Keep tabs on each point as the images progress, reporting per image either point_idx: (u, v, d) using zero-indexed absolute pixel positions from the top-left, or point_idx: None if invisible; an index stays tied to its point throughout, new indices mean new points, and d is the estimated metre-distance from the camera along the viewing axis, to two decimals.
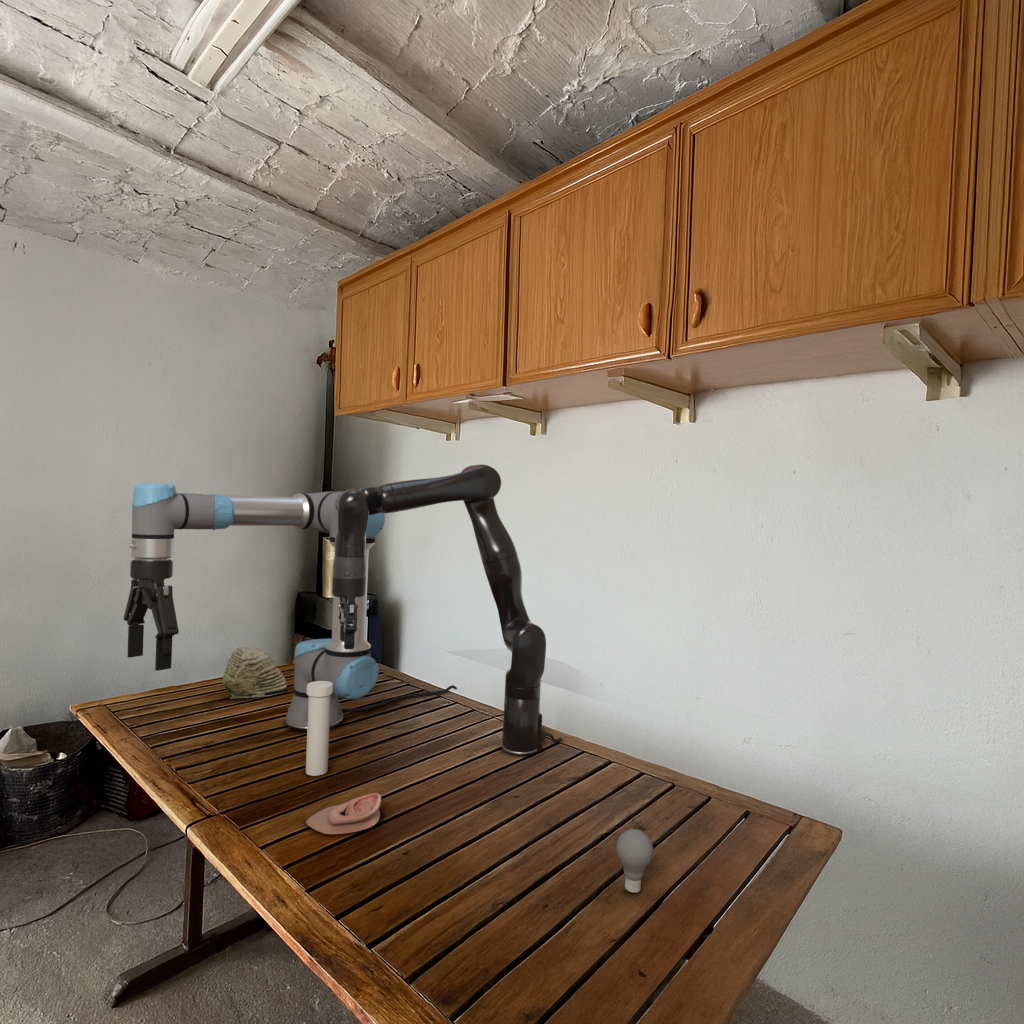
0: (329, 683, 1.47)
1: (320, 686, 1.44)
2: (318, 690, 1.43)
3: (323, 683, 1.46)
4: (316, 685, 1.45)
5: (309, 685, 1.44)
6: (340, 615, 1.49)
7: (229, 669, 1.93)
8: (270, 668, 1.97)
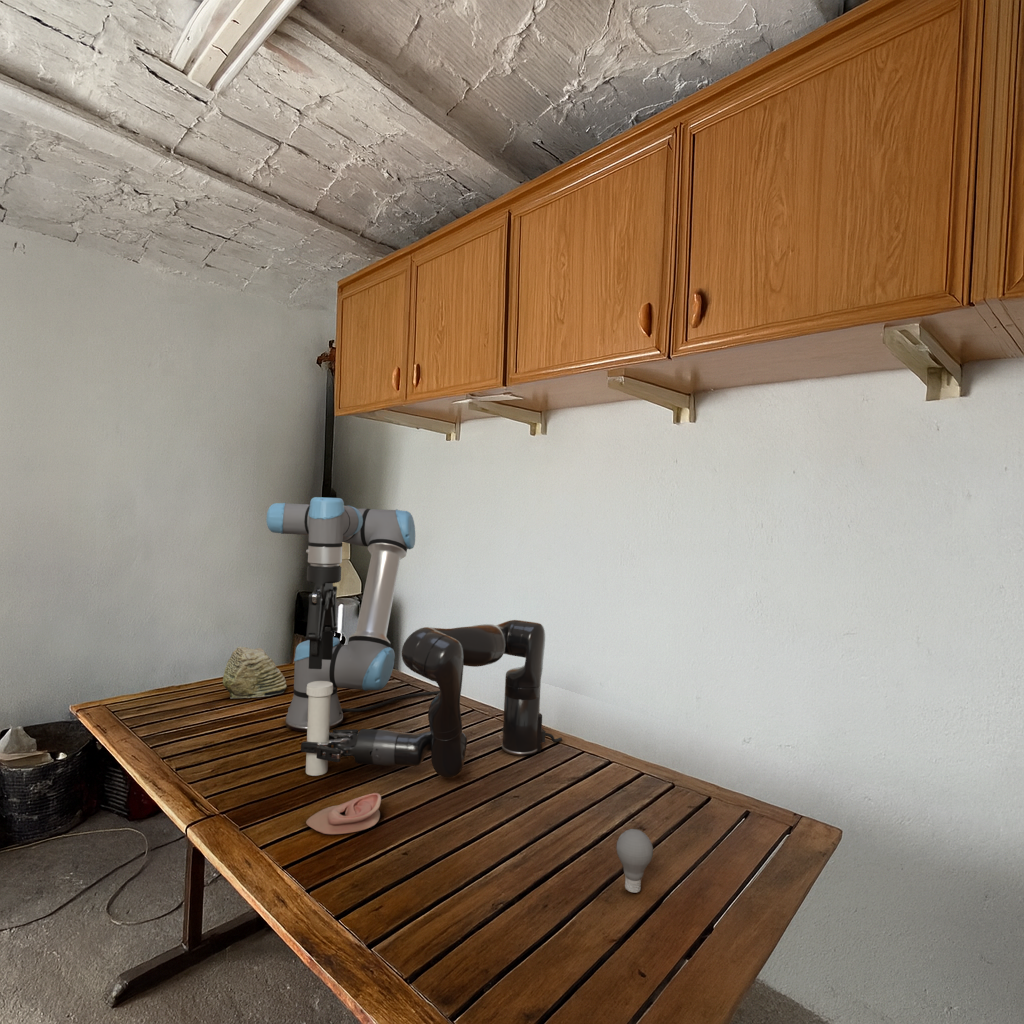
0: (329, 683, 1.47)
1: (320, 686, 1.44)
2: (318, 690, 1.43)
3: (323, 683, 1.46)
4: (316, 685, 1.45)
5: (309, 685, 1.44)
6: None
7: (229, 669, 1.93)
8: (270, 668, 1.97)
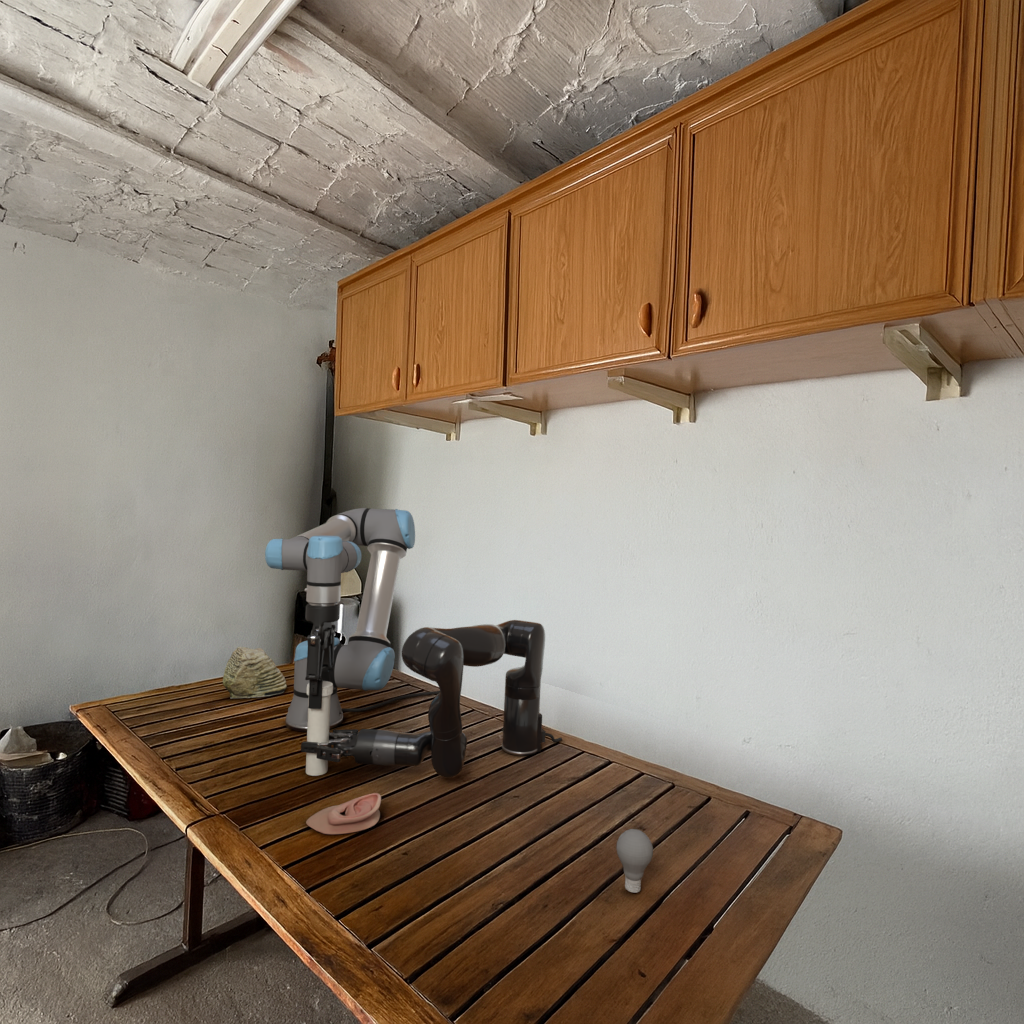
0: (329, 683, 1.47)
1: None
2: None
3: (323, 683, 1.46)
4: None
5: None
6: None
7: (229, 669, 1.93)
8: (270, 668, 1.97)
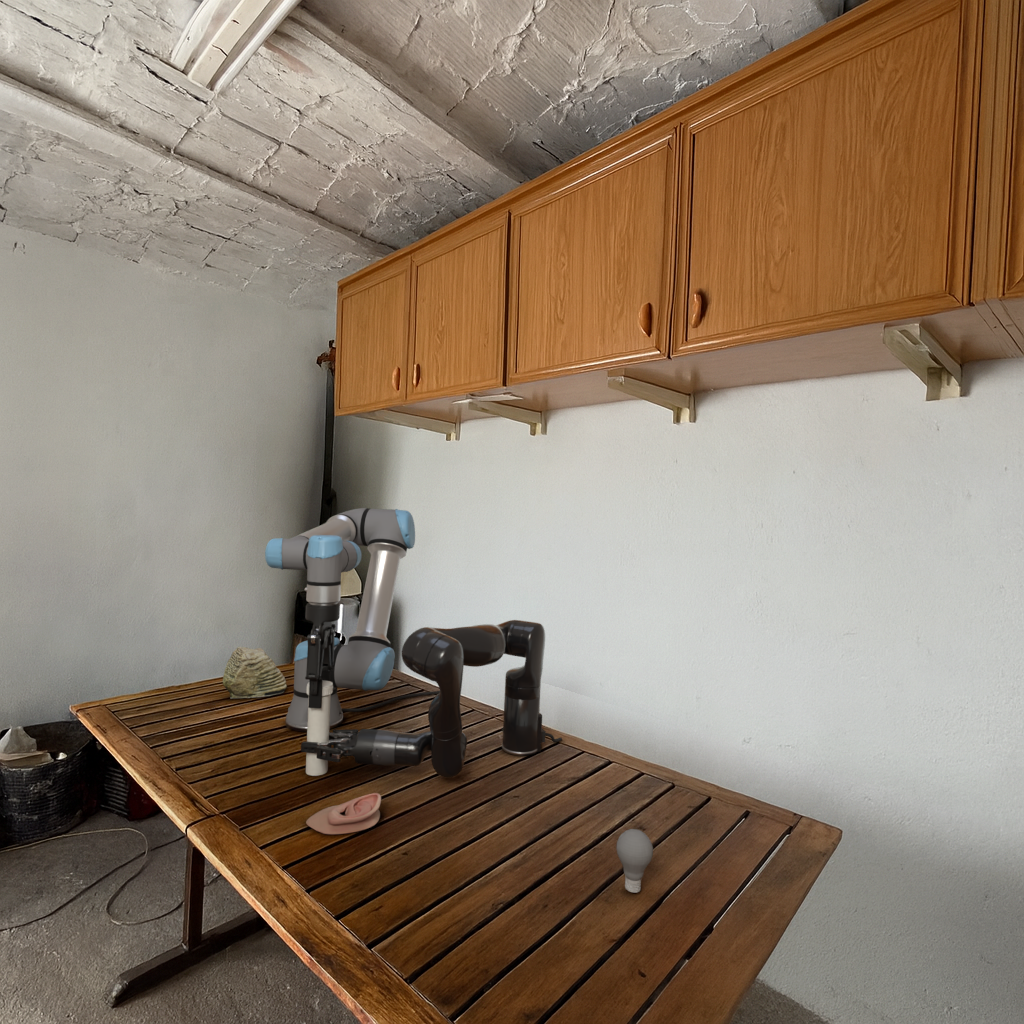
0: None
1: (327, 683, 1.46)
2: (332, 685, 1.46)
3: None
4: (323, 684, 1.45)
5: (323, 686, 1.44)
6: None
7: (229, 669, 1.93)
8: (270, 668, 1.97)
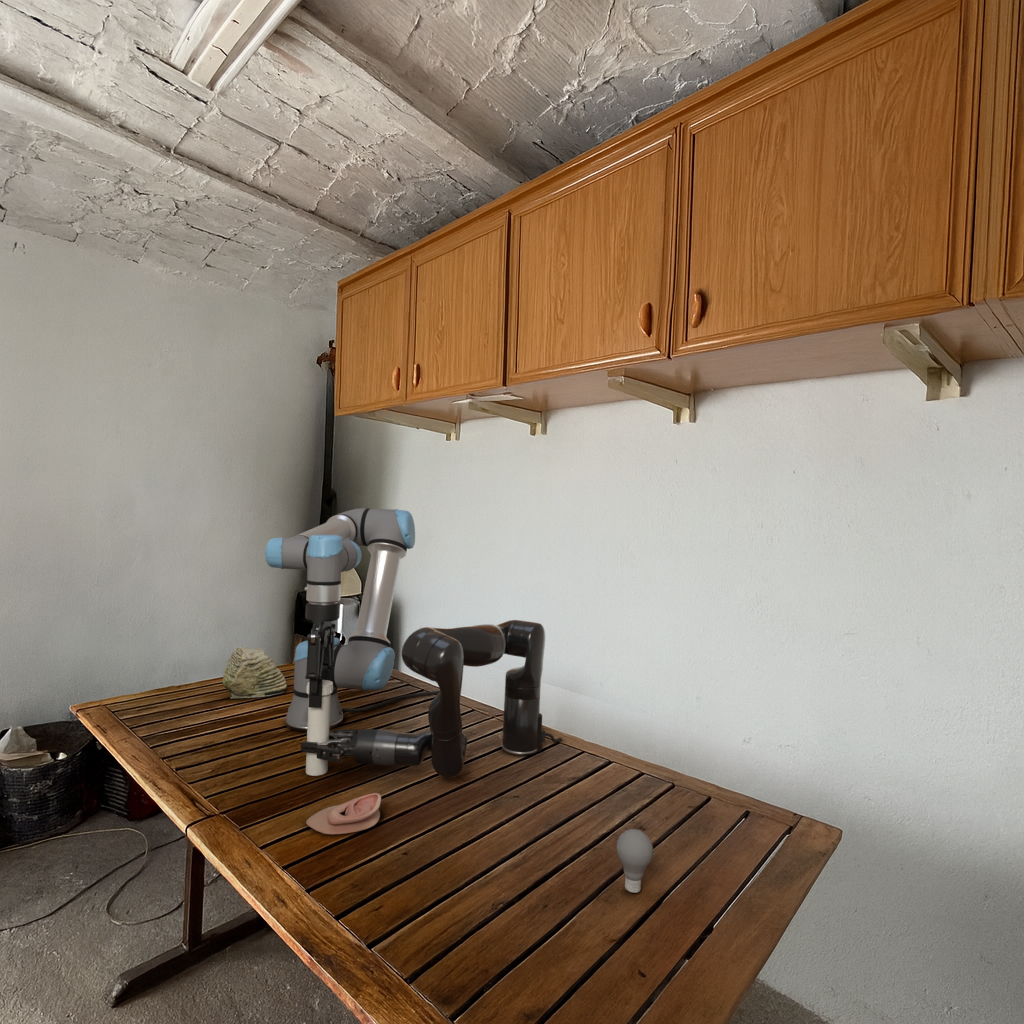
0: None
1: None
2: None
3: None
4: (323, 682, 1.47)
5: (329, 681, 1.47)
6: None
7: (229, 669, 1.93)
8: (270, 668, 1.97)
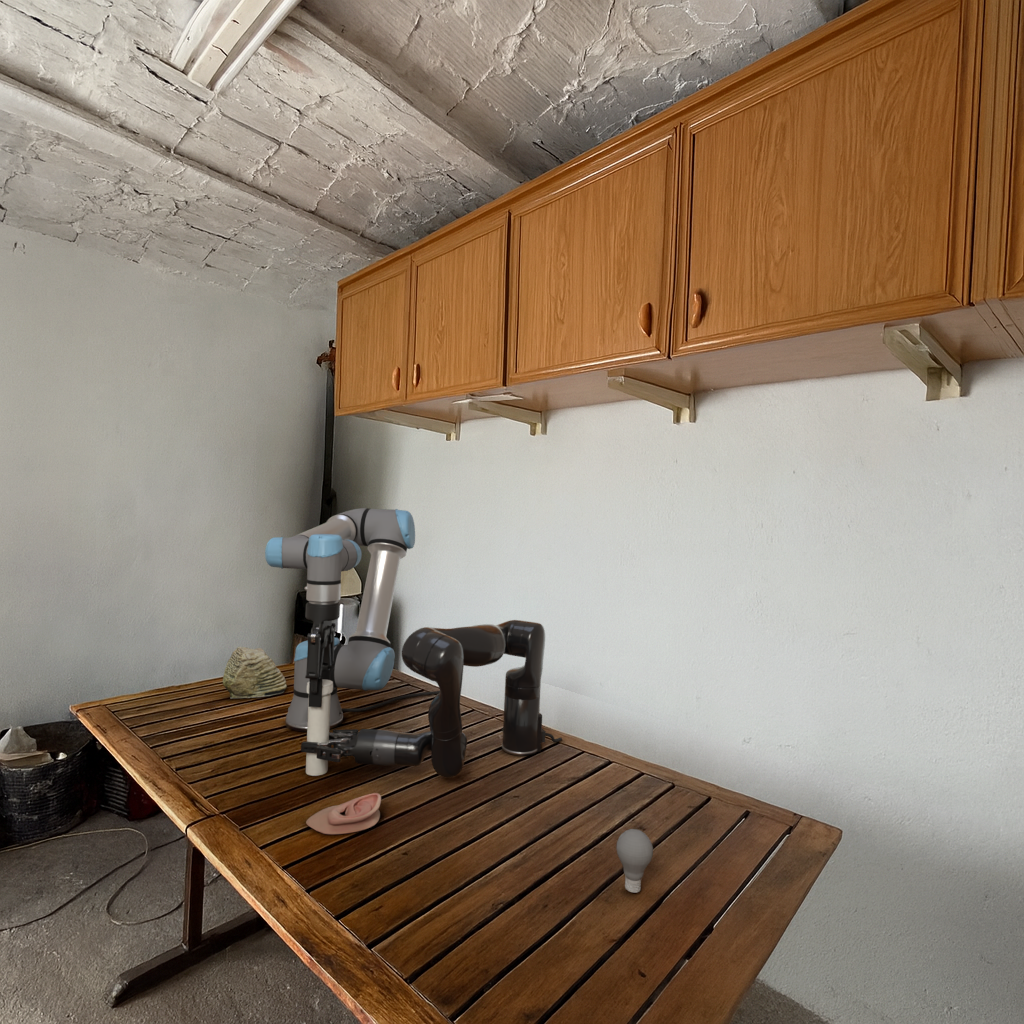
0: (325, 684, 1.44)
1: None
2: (307, 686, 1.44)
3: (323, 683, 1.45)
4: None
5: None
6: None
7: (229, 669, 1.93)
8: (270, 668, 1.97)
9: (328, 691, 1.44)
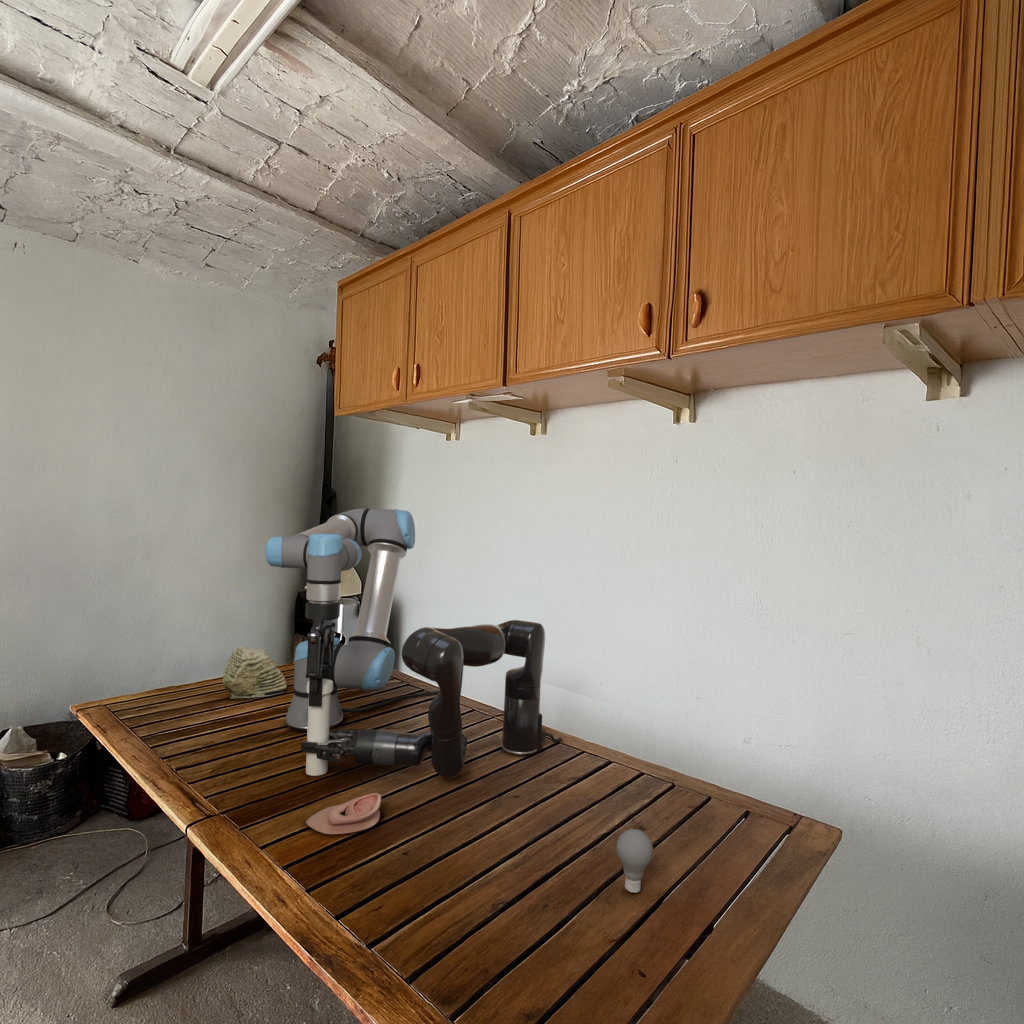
0: (328, 680, 1.47)
1: (323, 684, 1.44)
2: (322, 688, 1.43)
3: (322, 681, 1.46)
4: None
5: None
6: None
7: (229, 669, 1.93)
8: (270, 668, 1.97)
9: None
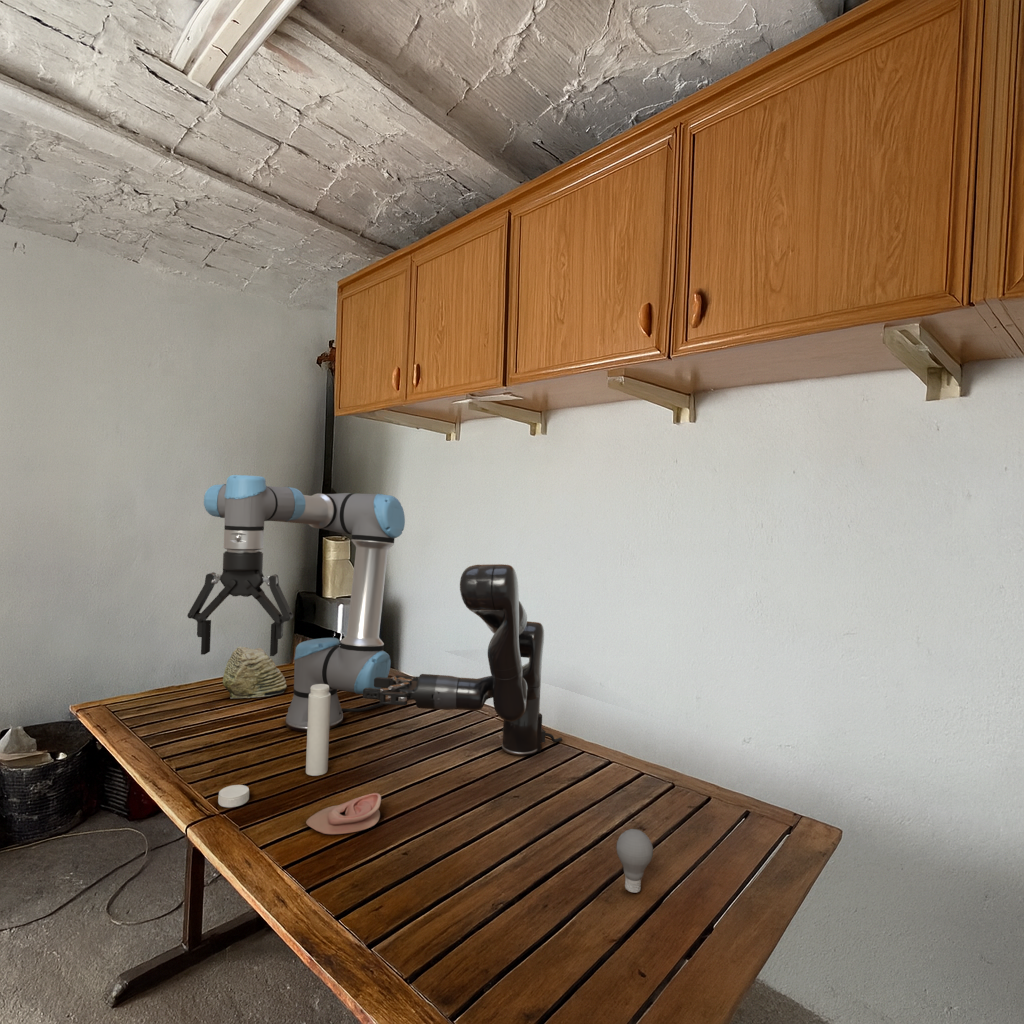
0: (227, 788, 1.32)
1: (242, 788, 1.31)
2: None
3: (229, 790, 1.31)
4: (239, 791, 1.30)
5: (240, 794, 1.29)
6: None
7: (229, 669, 1.93)
8: (270, 668, 1.97)
9: None
